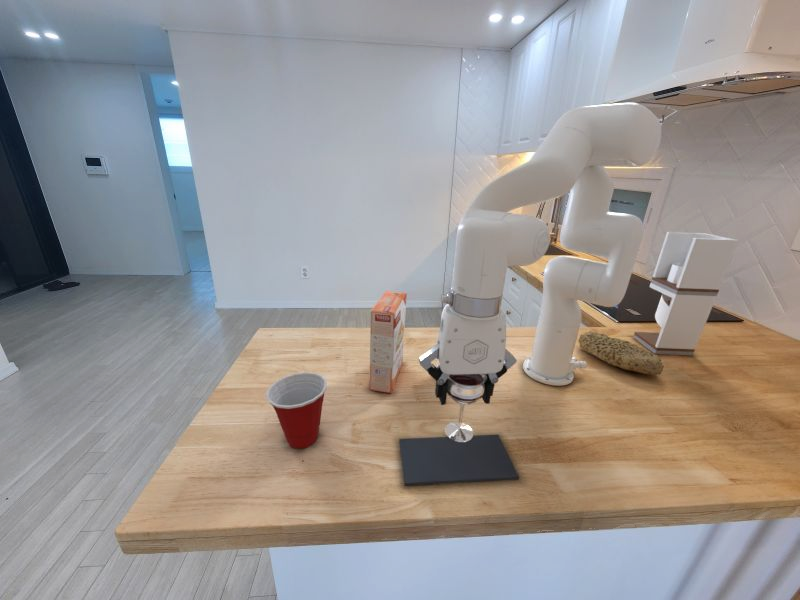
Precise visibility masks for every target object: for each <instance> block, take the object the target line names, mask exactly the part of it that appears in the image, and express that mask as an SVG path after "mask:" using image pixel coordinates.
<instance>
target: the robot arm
mask: <svg viewBox="0 0 800 600" xmlns="http://www.w3.org/2000/svg"><path fill="white" fill-rule="evenodd" d="M661 140H662V124H661V122H660V120H659V118H658V117H657V115H655V114H654V113H653V112H652V110H650V109H649V108H647V107H646V106H645V105H643V104H640V103H636V102H622V103H621V102H619V103H610V104H609V103H608V104H599V105H586V106H580V107H574V108H572V109H569V110H567V111H565V112H564V113H563V114H562V115H561V116H560V117H559V118H558V119H557V120H556V122H555V123H554V125H552V128H551V129H550V130H549V132H548V134H546V136H545V137H544V139H543V140H542V142H541V144H540V145H539V146H538V148H536V150H535V152H534V154H533V155H532V157H531V158H530V160H528V161H527V162H524V163H523V164H520V165H518V166H517V167H514V168H513V169H510V170H509V171H507V172H505V173H503V174H502V175H500V176H498V177H497V178H495V179H494V180H491V182H489V183H487V184H486V185H485V186H484V187H483V188H482V189H480V191H479V192H478V193H477V194H476V195H475V197H474V198H473V199H472V201H471V202H470V203H469V205H468V206H467V208H466V209H465V211H464V212H463V214H462V216H461V218H460V221H459V223H458V225H457V229H456V235H455V247H454V257H453V267H452V278H451V287H450V288H449V291H448V293H446V294H441V295H440V303H441V304H445V306H446V305H447V304H449V306H446V308H445V311H444V314H443V317H442V316H441V317H442V321H441V320H440V325H439V330H438V333H437V334H438V335H437V341H436V344H435V345H434V346H433V347H431V348H430V349H429V350H428V351H425V353H423V354H422V355H420V356H419V358H418V363H419V365H420V366H421V367H422V368H423V369H424V370H425V371H426V372H427V373H428V375H429V376H430V377H431V378H432V379H434V380H435V388H434V394H435V397H436V398H437V399H439V402H440V406H445V405H446V404H447V396H448V394H447V388H448V386H447V383H446V380H447V378H448V377H449V375H450V374H452V375H460V374H486V376H487V379H486V381H485V385H486V388H485V392H484V395H483V396H482V398H481V399H482V401H483V403H484V404H485V405H486V404H490V402H491V397H493V395H494V389H495V384H497V383H499V379H500V378H501V377H503V375H505V374H506V373H508V370H509V369H511V368H512V367H513V366H514V365H515V364H517V361H518V360H517V358H516V357H515V356H514V354H512V353H511V352H510V351H509V350H508V349H507V348H506V345H507V318H506V312H504V310H502V309H501V307H502V303H503V302H502V301H503V295H504V289H505V282H506V277H507V276H506V275H507V268H508V267H525V266H526V267H527V266H530V265H532V264H535V263H536V262H538V261H539V260H541V259H542V258H543V257H544V255H546V253H547V251H548V249H549V246H550V242H551V231H550V228H549V226H548V224H547V223H546V222H545V221H544V220H543V219H541V218H539V217H536V216H533V215H529V214H528V215H527V214H520V213H512V212H511V211H513V210H516V209H518V208H523V207H527V206H531V205H532V206H533V205H536V204H540V203H545V202H548V201H551V200H555V199H558V198H561V197H563V196H564V195H566V194H568V193H569V194H568V198H567V201H566V202H567V203H566V206H565V211H564V214H563V220H562V223H561V227H560V234H559V243H560V245H561V246H562V247H563V248H564V249H566V250H569V251H573V252H576V253H577V252H578V253H583V254H588V255H593V256H599V257H604V258H606V259H607V260H608V262H602V261H597V260H591V259H587V258H584V257H583V258H582V257H577V256H570V255H558V256H554V257H553V258H551V259H550V260H548V262H547V263H546V265H545V266H544V269H543V277H542V299H541V306H540V311H539V316H538V321H537V325H536V330H535V335H534V341H533V346H532V350H531V354H530V357H528V358H526V359H525V360H524V361H523V363H522V370H523V371H524V373H525V374H526V375H527V376H529V378H531V379H533V380H535V381H537V382H539V383H541V384H545V385H549V386H555V387H561V386H567V385H569V384H571V383H572V382H573V381H574V377H575V374H574V371H575V370H577V369H579V370H580V369H581V370H582V369H583V370H585V369H587V368H588V363H587V362H586V361H585V360H583V361H582V360H581V361H580V360H577V357H573V354H574V350H575V346H576V343H577V340H578V334H579V331H580V327H581V323H582V318H583V313H582V309H581V306H580V304H579V302H578V301H580V302H584V303H588V304H592V305H594V306H595V305H596V306H600V307H604V308H605V307H606V308H614V307H617V306H618V305H619V304H620V303H621V302H622V301H623V299H624V298H625V295H626V293H627V289H628V287H629V284H630V281H631V277H632V274H633V270H634V268H635V264H636V260H637V258H638V254H639V251H640V248H641V243H642V241H643V236H644V235H643V234H644V224H643V221H642V219H641V218H640V217H639V216H637V215H634V214H631V213H623V212H614V211H610V206H611V203H612V202H611V201H612V198H613V194H614V192H615V185H614V182H613V179H612V177H611V175H610V173H609V172H608V170H607V169H606V167H618V168H621V167H622V168H623V167H624V168H638V167H642V166H643V167H644V166H645V165H646V164H648V163H649V162H650V161H651V160H652V159H653V158H654V157H655V155H656V153H657V151H658V150H659V147H660V144H661ZM436 359H437V361H438V360H439V365H438V367H437V366H436V365H434V364H433V363H432V362H433V361H434V360H436Z"/></svg>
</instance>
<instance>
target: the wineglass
mask: <svg viewBox="0 0 800 600" xmlns="http://www.w3.org/2000/svg"><path fill="white" fill-rule="evenodd" d="M486 379H487V376H486V374H460V375H452V374H450V375H449V377H448V378H447V380H446V383H447V386H448V388H447V396H448V397H449V398H450V399H452V400H453V401H454V402H455V403H457V404H459V416H458V421H451V422H449V423H448V424H446V426H445V428H444V431H445V434H446V437H449V438H450V439H452V440H454V441H457V442H466V441H469V440H471V438H472V437H473V436H474V431H473V429H472V428H471V426H469V425H468V424H466V423H464V422H463V418H464V417H463V416H464V411H465V406H467V405H472V404H475V403H477V402H480V400H481V399H482V396H483V395H484V392H485V388H486V385H485V381H486Z"/></svg>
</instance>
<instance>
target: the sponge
mask: <svg viewBox="0 0 800 600" xmlns="http://www.w3.org/2000/svg"><path fill="white" fill-rule="evenodd" d="M578 344H579V347H580V348H581V349H582V350H583V351H585V352H587V353H589V354H590V355H593V356H595V357H596V358H597V359H599V360H601V361H603V362H605V363H607V364H609V365H611V366H614V367H616V368H617V367H618V368H619V369H623V370H625V371H631V372H635V373H640V374H643V375H654V376H655V375H656V376H657V375H658V376H659V375H662V373H663V371H664V368H665V365H663V360H662V359H661V358H660V357H659V356H658V355H657V354H655V353H653V352H652V351H650V350H647V349H645V348H643V347H642V346H639V345H638V344H636V343H633V342H630V341H628V340H624V339H620V338H614V337H611V336H609V335H607V334H605V333H599V332H595V331H591V330H590V331H585V333H583V334H580V335H579V338H578Z"/></svg>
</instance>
